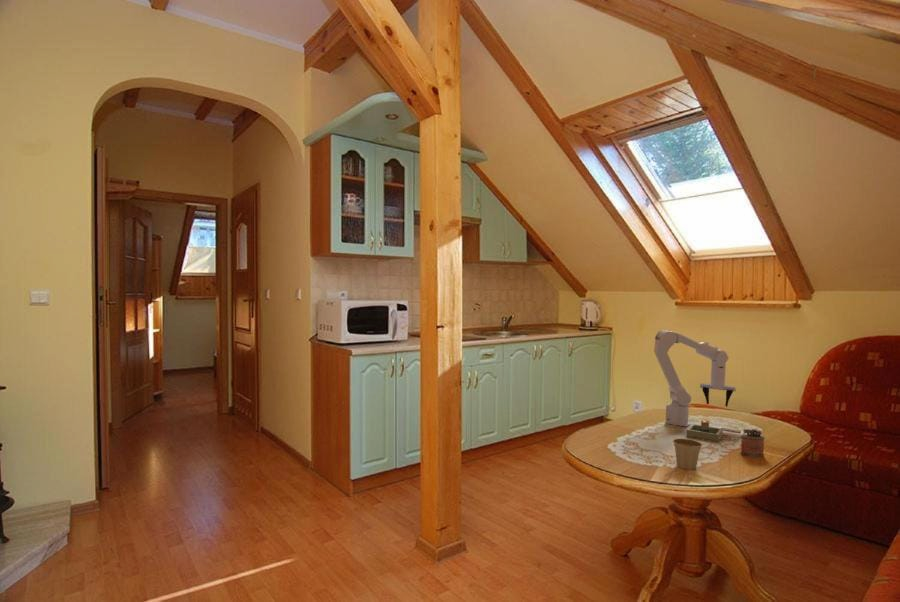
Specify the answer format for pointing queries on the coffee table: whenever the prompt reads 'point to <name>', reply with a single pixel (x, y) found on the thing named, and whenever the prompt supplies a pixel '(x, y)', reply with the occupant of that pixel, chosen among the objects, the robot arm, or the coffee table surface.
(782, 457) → the coffee table surface
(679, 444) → the flower pot
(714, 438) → the bin
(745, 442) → the lighter
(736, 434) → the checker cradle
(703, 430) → the cylinder
